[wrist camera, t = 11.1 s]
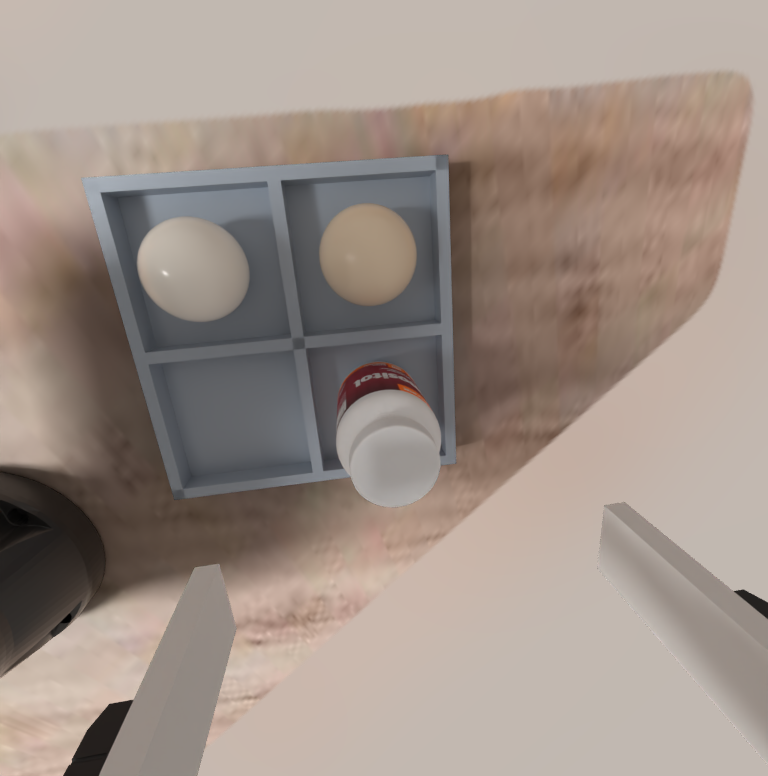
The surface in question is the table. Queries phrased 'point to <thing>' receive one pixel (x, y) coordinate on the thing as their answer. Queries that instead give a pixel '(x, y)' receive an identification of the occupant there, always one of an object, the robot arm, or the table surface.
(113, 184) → the divided tray
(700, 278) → the table surface
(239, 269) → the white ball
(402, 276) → the egg brown
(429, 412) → the pill bottle
